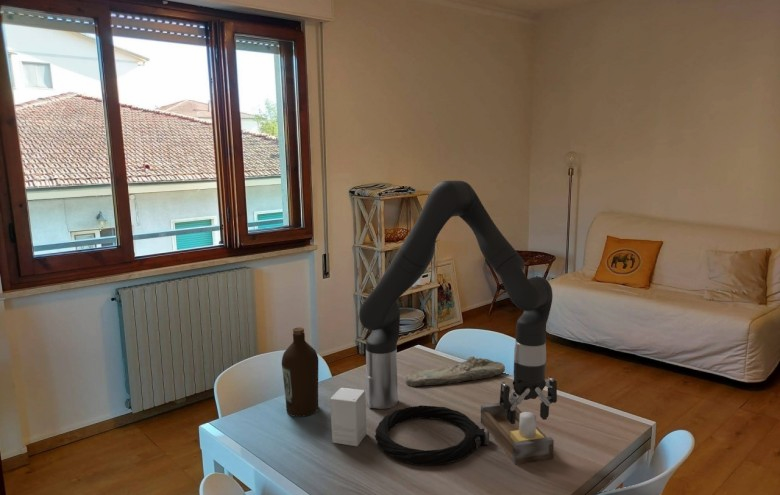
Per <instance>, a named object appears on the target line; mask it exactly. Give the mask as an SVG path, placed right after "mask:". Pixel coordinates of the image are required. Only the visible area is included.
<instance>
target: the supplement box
mask: <svg viewBox="0 0 780 495" xmlns="http://www.w3.org/2000/svg"><path fill="white" fill-rule="evenodd" d="M329 403H330V417H331V438H332V443H334V444H338V445H339V444H341V445H346V446H352V447H353V446H354V447H358V446H359V445H360V443H361V442H362V440H363V439H364V438H365V436H366V435H367V432H368V431H367V428H368V427H367V426H368V425H367V409H366V408H367V406H366V404H367V401H366V389H356V388H350V387H349V388H347V387H340V388H339V389H338V390H337V391H336V392H335V393H334V394H333V395H332V396H331V398H329Z"/></svg>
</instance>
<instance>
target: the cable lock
mask: <svg viewBox="0 0 780 495" xmlns="http://www.w3.org/2000/svg"><path fill="white" fill-rule="evenodd" d="M418 419H436V420H437V419H438V420H442V421H445V422H448V423H450V422H451V423H452V424H454V425H455V426H458V427H459V428H461V429H462V430H463V431H464V434H465V435H464V436H465V437H464V438H463V439H462V440H461V441H460V442H459V443H457V444H455V445H453V446H448V447H445V448H441V449H439V448H438V449H430V450H424V449H417V448H411V447H407V446H404V445H401V444H400V443H397V442H396V441H394V440H393V439H392V438H391V437H390V434H389V433H390V431H391V430H392V429H393V428H394V427H396V426H397V425H399V424H401V423H403V422H406V421H410V420H418ZM374 431H375V432H374V433H375V435H374V437H375V441H376V444H377V446H378V447H379V448H380V449H381V450H382V451H383V452H384V453H385V454H387V455H389V456H391V457H392V458H393V460H394V459H395V460H397V461H401V462H404V463H408V464H411V465H414V466H415V465H416V466H418V465H419V466H421V465H423V466H435V465H436V466H438V465H445V464H449V463H453V462H456V461H461V460H463V459H464V458H465V457H467V456H468V455H470V454H472V453H473V451H476V450H477V449H478V448H480V447H482V448H483V447H485V445H486V446H488V445H489V443H490V433H489V431H488V430H487V429H486V430H485V427H484V428H481V427H480V426H479V425H478V424H476V423H475V421H473V420H472V419H471V418H469V416H467V415H466V414H465V413H463V412H460V411H459V410H455V409H451V408H449V407H445V406H434V405H417V406H406V407H404V408H401V409H397V410H394V411H393V412H391V413H388V414H387V415H385V416H384V417H383V418H382V419H381V420H380V421H379V423H378V425H377V427H376V428H375V430H374Z"/></svg>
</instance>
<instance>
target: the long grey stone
mask: <svg viewBox="0 0 780 495" xmlns="http://www.w3.org/2000/svg"><path fill="white" fill-rule="evenodd" d="M505 371H506V366H505V364H503V363H502V362H499V361H495V360H491V359H489V358H481V357H480V358H477V357H476V358H475V356H470V357H468V358H466V360H465V361H463V362H458V363H457V364H455V365H453V366H452V365H451V366H444V367H437V368H432V369H431V368H430V369H425V370H419V371H417V370H416V371H411V372H410V373H407V374H406V376H405V384H406V385H407V386H408V387H414V388H416V387H420V386H421V387H423V386H434V385H436V386H437V385H438V386H441V385H444V384H455V383H456V384H457V383H458V384H459V383H460V382H466V381H475V380H481V379H489V378H494V376H499V375H501V374H502V373H505Z"/></svg>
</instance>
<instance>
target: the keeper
mask: <svg viewBox="0 0 780 495" xmlns="http://www.w3.org/2000/svg"><path fill="white" fill-rule="evenodd" d="M521 412H522V411H521ZM536 427H537V415H536V414H535V413H533V412H531V411H523V412H522V413H520V422H519V430H515V431H510V437H511V438H512V440H513V441H514V442H520V441H526V440H533V439H540V438H545V437H544V436H543V435H542V434H541V433H540V432H539V431H538V430H537V429H536Z"/></svg>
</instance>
